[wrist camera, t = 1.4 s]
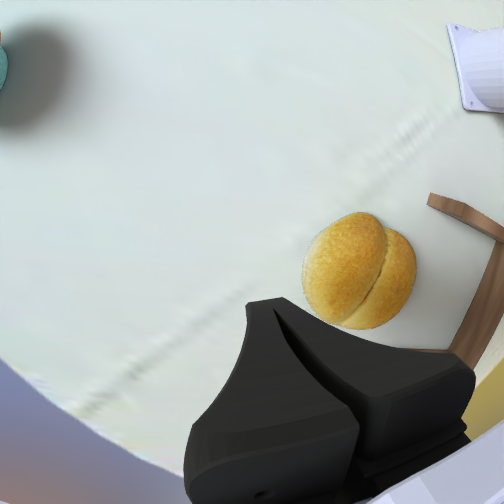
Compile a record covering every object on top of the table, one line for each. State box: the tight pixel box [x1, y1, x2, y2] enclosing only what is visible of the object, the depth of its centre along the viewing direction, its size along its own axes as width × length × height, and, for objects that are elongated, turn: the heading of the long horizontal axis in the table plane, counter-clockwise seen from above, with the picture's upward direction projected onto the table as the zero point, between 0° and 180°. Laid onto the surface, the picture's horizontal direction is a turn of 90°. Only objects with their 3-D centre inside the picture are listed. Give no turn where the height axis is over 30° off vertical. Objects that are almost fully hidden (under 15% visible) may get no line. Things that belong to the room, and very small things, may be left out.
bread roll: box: [302, 212, 417, 330], centre depth 21 cm, size 8×9×4 cm
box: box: [400, 193, 504, 370], centre depth 24 cm, size 13×15×4 cm
